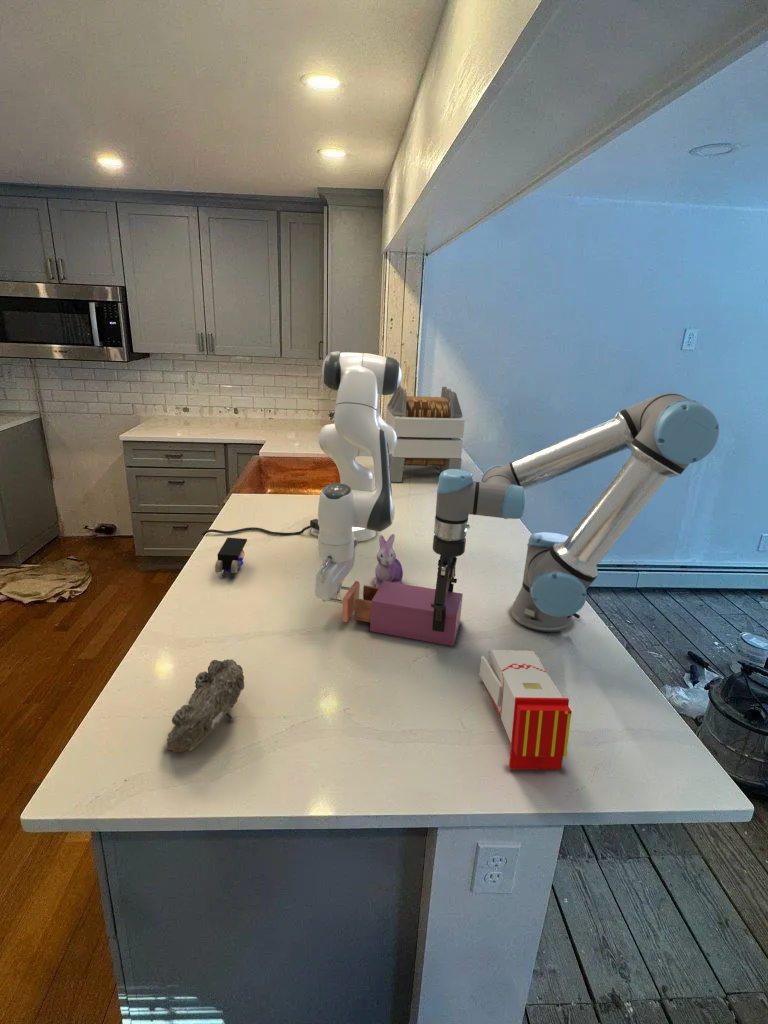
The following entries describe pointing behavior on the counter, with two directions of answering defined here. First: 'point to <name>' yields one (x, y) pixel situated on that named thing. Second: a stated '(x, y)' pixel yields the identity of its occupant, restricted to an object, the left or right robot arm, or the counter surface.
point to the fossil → (206, 705)
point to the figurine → (387, 563)
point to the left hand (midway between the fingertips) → (335, 598)
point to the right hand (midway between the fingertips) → (442, 618)
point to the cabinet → (413, 613)
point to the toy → (528, 708)
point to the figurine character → (230, 556)
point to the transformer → (425, 431)
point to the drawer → (357, 602)
